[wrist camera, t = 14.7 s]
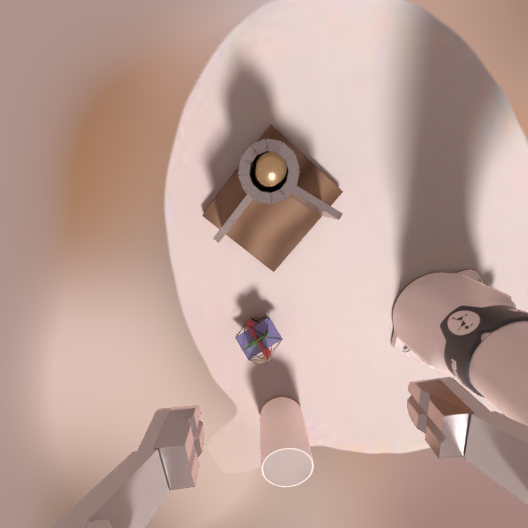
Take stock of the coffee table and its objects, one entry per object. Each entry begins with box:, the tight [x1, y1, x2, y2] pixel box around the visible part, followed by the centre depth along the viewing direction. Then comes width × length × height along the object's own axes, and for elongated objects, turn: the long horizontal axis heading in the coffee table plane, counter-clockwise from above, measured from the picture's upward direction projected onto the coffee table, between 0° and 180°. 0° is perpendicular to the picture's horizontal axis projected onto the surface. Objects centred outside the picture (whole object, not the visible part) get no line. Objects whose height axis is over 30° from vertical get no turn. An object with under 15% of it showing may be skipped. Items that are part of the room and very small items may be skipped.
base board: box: [202, 125, 343, 272], centre depth 37 cm, size 14×16×2 cm
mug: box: [260, 397, 314, 487], centre depth 43 cm, size 12×8×10 cm
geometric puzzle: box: [235, 317, 283, 364], centre depth 40 cm, size 7×7×8 cm
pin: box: [255, 152, 287, 190], centre depth 29 cm, size 3×3×12 cm
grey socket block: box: [213, 139, 342, 243], centre depth 32 cm, size 13×13×9 cm
